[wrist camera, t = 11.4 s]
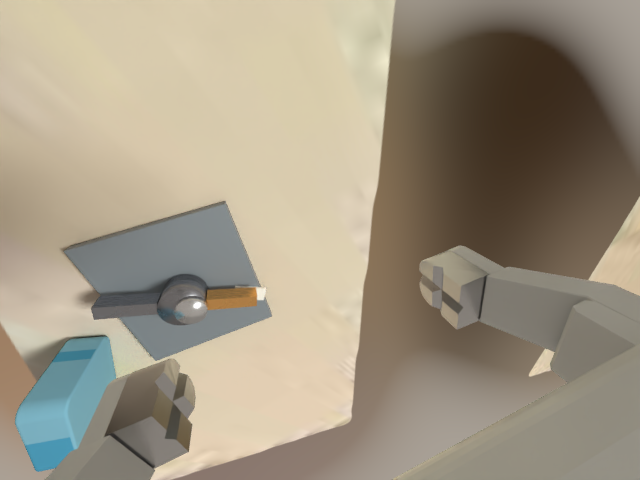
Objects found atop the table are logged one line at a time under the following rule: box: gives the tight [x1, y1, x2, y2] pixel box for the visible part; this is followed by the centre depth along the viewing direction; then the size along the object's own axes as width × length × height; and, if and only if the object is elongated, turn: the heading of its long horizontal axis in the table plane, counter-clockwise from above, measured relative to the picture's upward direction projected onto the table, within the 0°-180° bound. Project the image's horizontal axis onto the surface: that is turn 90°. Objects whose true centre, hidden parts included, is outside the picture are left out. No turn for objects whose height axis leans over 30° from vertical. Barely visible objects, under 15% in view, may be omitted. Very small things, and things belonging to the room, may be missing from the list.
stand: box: [64, 201, 272, 361], centre depth 39 cm, size 22×21×2 cm
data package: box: [15, 336, 116, 472], centre depth 35 cm, size 12×4×12 cm, turn 169°
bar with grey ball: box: [91, 274, 257, 326], centre depth 36 cm, size 20×6×5 cm, turn 82°
